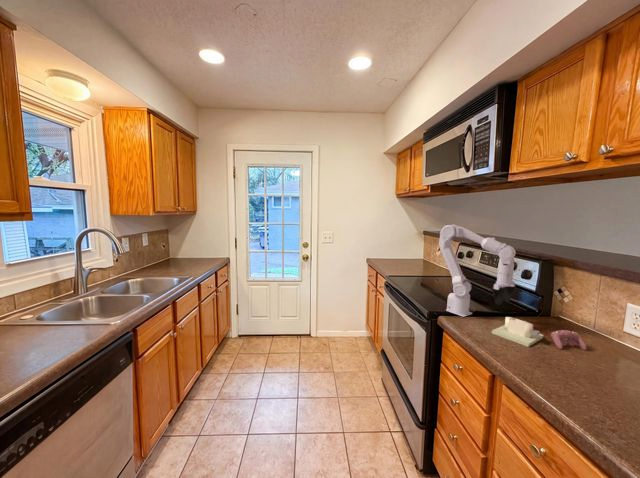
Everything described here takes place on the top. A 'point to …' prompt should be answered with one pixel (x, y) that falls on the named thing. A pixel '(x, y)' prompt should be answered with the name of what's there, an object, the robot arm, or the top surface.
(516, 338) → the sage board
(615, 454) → the top surface
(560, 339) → the pink toy car
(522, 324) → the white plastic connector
